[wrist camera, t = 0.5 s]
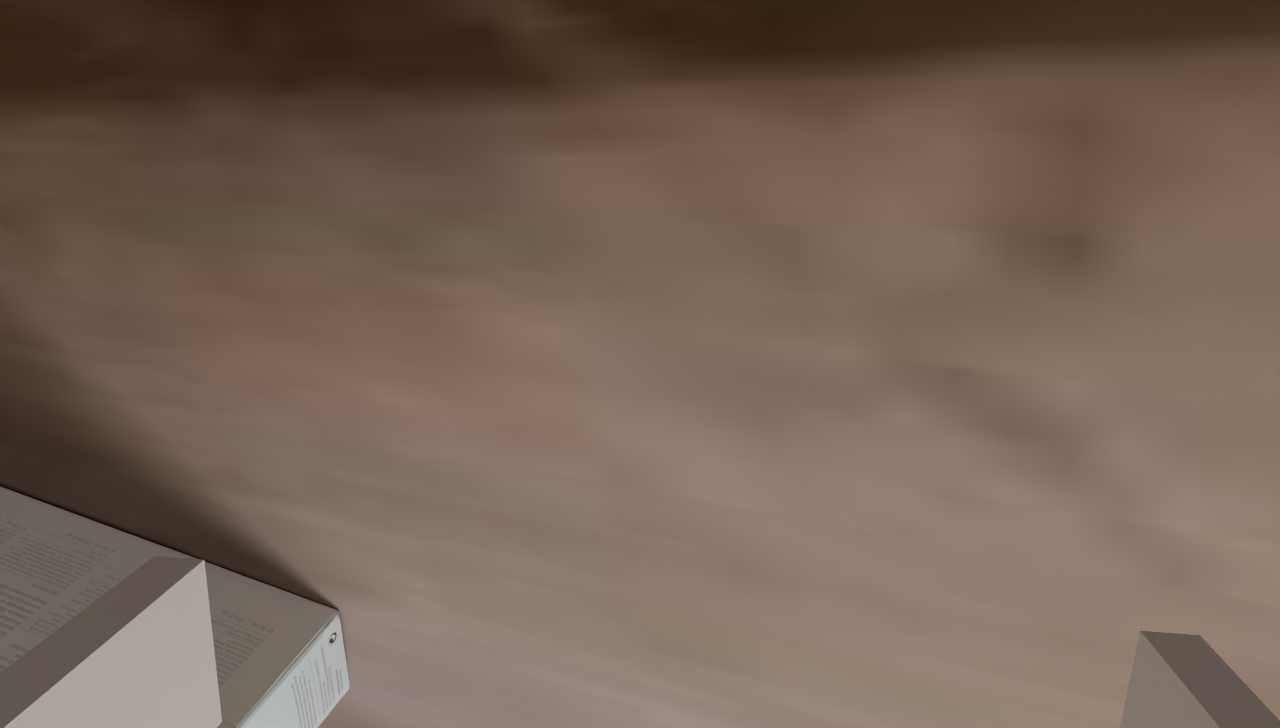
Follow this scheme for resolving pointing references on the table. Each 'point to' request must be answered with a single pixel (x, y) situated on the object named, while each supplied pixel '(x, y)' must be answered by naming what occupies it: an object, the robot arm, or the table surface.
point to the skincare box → (239, 606)
